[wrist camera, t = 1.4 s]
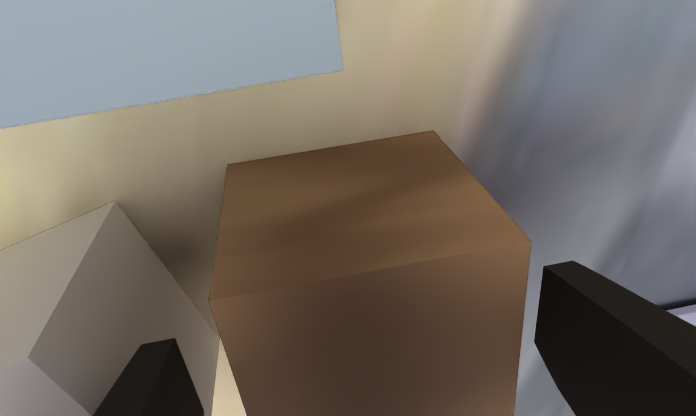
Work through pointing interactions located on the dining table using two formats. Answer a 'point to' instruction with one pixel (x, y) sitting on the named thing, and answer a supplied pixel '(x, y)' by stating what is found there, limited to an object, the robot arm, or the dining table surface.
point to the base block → (153, 51)
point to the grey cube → (90, 316)
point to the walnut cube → (369, 283)
